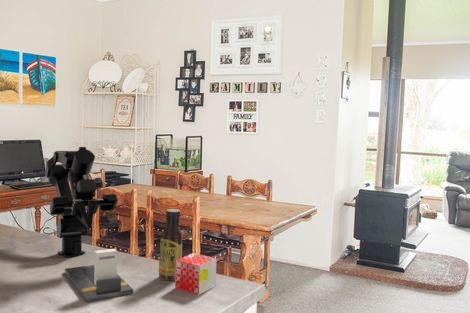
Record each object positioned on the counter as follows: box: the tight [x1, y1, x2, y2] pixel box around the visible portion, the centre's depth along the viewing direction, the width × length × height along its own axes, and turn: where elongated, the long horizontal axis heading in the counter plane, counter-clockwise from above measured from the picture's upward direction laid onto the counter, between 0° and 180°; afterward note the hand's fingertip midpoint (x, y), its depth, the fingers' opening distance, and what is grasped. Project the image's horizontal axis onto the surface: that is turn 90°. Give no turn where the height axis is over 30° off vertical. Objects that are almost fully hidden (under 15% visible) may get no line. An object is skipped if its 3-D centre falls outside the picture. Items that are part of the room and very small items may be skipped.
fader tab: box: [93, 248, 118, 285], centre depth 123 cm, size 3×5×9 cm, turn 122°
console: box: [64, 264, 134, 303], centre depth 130 cm, size 24×12×4 cm, turn 32°
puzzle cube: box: [174, 252, 217, 295], centre depth 129 cm, size 8×8×8 cm
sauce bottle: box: [158, 208, 183, 282], centre depth 135 cm, size 6×6×20 cm
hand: (89, 228), depth 136 cm, fingers closed
